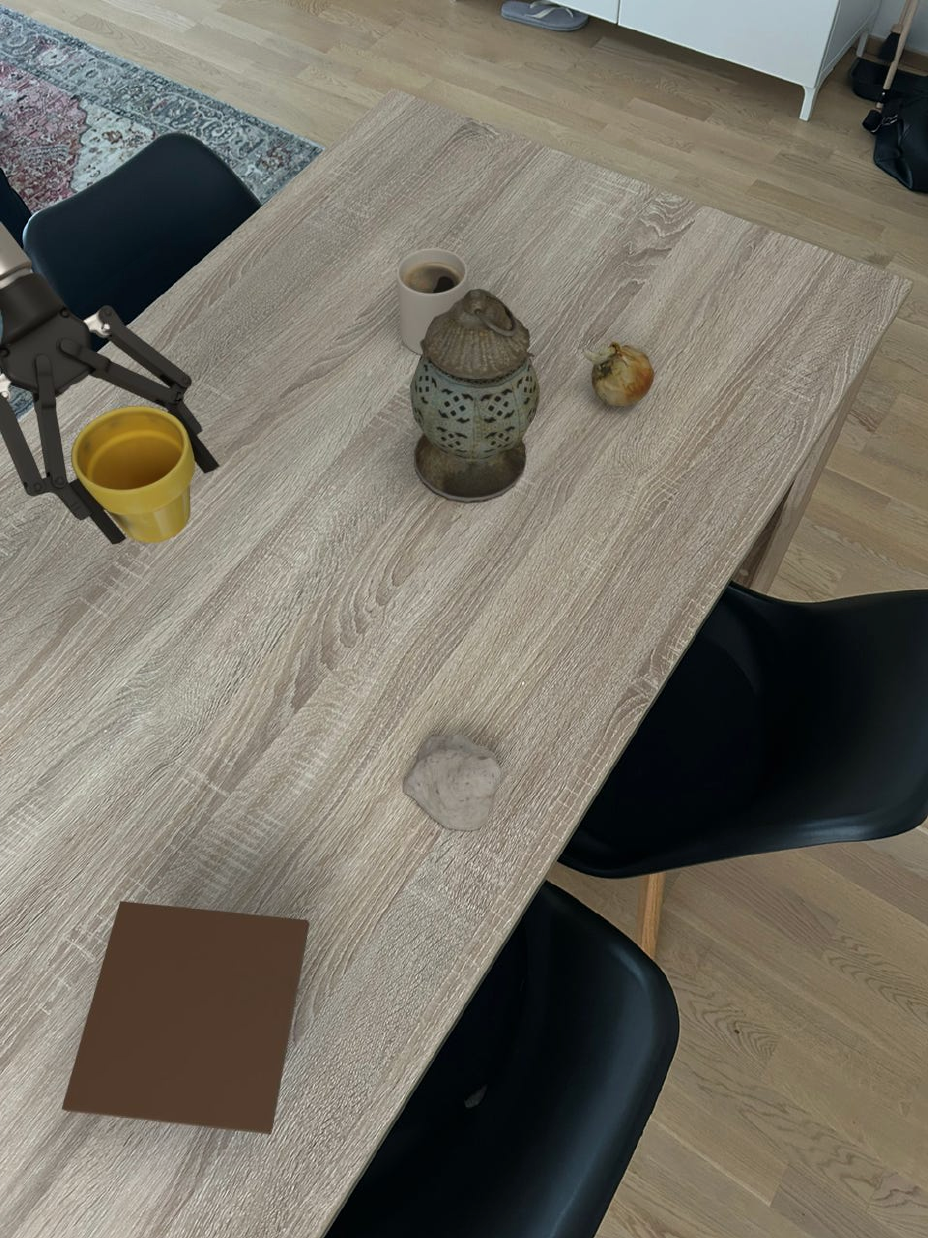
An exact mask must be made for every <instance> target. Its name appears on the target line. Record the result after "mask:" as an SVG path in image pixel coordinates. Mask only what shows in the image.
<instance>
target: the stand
mask: <svg viewBox="0 0 928 1238" xmlns="http://www.w3.org/2000/svg"><path fill="white" fill-rule="evenodd" d="M114 917H115V918H114V921H113V925H112V929H111V932H110V935H109V939H108V942H107V945H106V950H105V952H104V957H103V960H102V963H101V967H100V972H99V974H98V978H97V980H96V981H97V982H96V985H95V989H94V993H93V996H92V1000H91V1003H90V1006H89V1010H88V1014H87V1017H86V1021H85V1025H84V1028H83V1032H82V1035H81V1039H80V1042H79V1046H78V1050H77V1053H76V1056H75V1060H74V1063H73V1066H72V1071H71V1074H70V1078H69V1082H68V1085H67V1088H66V1092H65V1096H64V1099H63V1103H62V1106H61V1110H62V1111H65V1112H70V1113H79V1114H87V1115H96V1116H97V1115H98V1116H105V1117H113V1118H121V1119H131V1120H141V1121H147V1122H157V1123H165V1124H175V1125H183V1126H191V1127H192V1126H193V1127H201V1128H208V1129H209V1128H210V1129H217V1130H218V1129H219V1130H227V1131H236V1132H244V1133H252V1134H261V1135H270V1136H271V1135H272V1134H273V1129H274V1124H275V1123H274V1122H275V1118H276V1112H277V1107H278V1101H279V1095H280V1089H281V1084H282V1079H283V1074H284V1073H283V1072H284V1068H285V1062H286V1056H287V1051H288V1046H289V1040H290V1034H291V1029H292V1025H293V1017H294V1012H295V1007H296V1001H297V995H298V991H299V990H298V989H299V986H300V978H301V974H302V970H303V969H302V968H303V963H304V957H305V951H306V947H307V940H308V935H309V930H310V922H309V920H308V919H301V918H293V917H292V918H291V917H289V918H288V917H281V916H271V915H263V914H251V913H242V912H232V911H231V912H230V911H221V910H211V909H202V908H192V907H183V906H182V907H180V906H173V905H163V904H152V903H142V902H133V901H124V900H123V901H121V900H120V901H119V903H118V907H117V910H116V914H115V916H114Z"/></svg>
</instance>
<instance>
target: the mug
mask: <svg viewBox="0 0 928 1238" xmlns="http://www.w3.org/2000/svg"><path fill="white" fill-rule="evenodd" d="M468 268H469V267H468V265H467V263H466V261H465V260H464V259H463V257H461V256H460V255H459V254H458V253H456V252H454V251H451V250H448V249H445V248H441V247H426V248H422V249H417V250H414V251H412V252H410V253H408V254H407V255H405V256H404V257H403V258H402V259H401V260H400V261H399V263H398V264H397V267H396V270H395V278H396V289H397V290H396V291H397V302H398V316H399V327H400V337H401V340H402V343H404V345H405V346H406V347H407V348H408V349H409V350H410V351H412V352H414V353H415V354H418V355H420V356H421V355H422V354H423V351H422V348H421V346H420V341H421V340H423V339H424V338H425V335H426V332H427V329H428V327H429V325H430V324H431V322H432V320H433V319H434V317H436V316H438V315H440V314H443V313H445V312H447V311H449V309H450V308H451V307H452V306H453V305H454V303H455V302H457V301H458V300H460V299H461V298H463V297H464V296H465V295H466V293H467V292H468V291H469V269H468Z"/></svg>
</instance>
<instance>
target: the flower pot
mask: <svg viewBox="0 0 928 1238" xmlns="http://www.w3.org/2000/svg"><path fill="white" fill-rule="evenodd" d="M70 462H71V466H72V469H73V472H74V475H75V477H76V479H77V478H78V479H79V480H80V481H81V483H82V484H83V485H84V486H85V488H86V489H87V490H88V491H89V492H90V494H91V495H92V496H93V497H94V499H95V500H96V501H97V502H98V503H99V505H100V506H101V507H102V508H103V510H104V511H105V512H106V513H107V514H108V515H109V517H110V518H111V519H112V520H113V521H114V522H115V524H116V525H117V526H119V528H121V529H120V530H122V531H123V533H124V534H125V535H127V536H128V537H129V538H130V539H132V540H135V541H137V542H140V543H144V544H155V543H156V544H157V543H161V542H164V541H167V540H170V539H172V538H174V537H175V536H177V535H178V534H180V533H181V532H182V531H183V530H184V529H185V527H186V526H187V524H188V523H189V521H190V518H191V513H192V512H191V511H192V509H191V483H192V480H193V478H194V475H195V469H196V462H195V459H194V454H193V450H192V446H191V443H190V440H189V437H188V434H187V431H186V429H185V428H184V426H183V425H182V423H181V422H180V421H179V420H178V419H177V418H176V417H174V416H173V415H171V414H170V413H168V411H166V410H163V409H161V408H157V407H154V406H147V405H130V406H123V407H118V408H115V409H112V410H109V411H107V412H104V413H103V414H101V415H99V416H97V417H95V418H94V419H92V420H91V421H90V422H88V423H87V424H86V425H85V426H84V427H83V428H82V429H81V431H80V432H79V433H78V434H77V436H76V438H75V440H74V441H73V444H72V447H71V453H70Z"/></svg>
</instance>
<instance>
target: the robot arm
mask: <svg viewBox="0 0 928 1238" xmlns="http://www.w3.org/2000/svg"><path fill="white" fill-rule="evenodd" d="M32 265H33V261H32V260H31V259H30V257H29V256H28V255H27V254H26V253H25V251H24V250H23V249H22V248H21V246H20V245H19V243H18V242H17V240H16V239H15V238H14V237H13V235H12V234H11V232H10V231H9V230H8V229H7V227H6V226H5V224H3V222H2V221H0V436H1V437H2V439H3V442H4V445H5V446H6V449H7V451H8V454H9V456H10V458H11V461H12V463H13V466H14V468H15V470H16V472H17V475H18V477H19V479H20V482H21V484H22V486H23V489H24V491H25V493H26V494H27V496H29V497H32V498H33V497H37V496H41V495H44V494H49V493H51V494H54V495H56V496H57V497H58V499H59V500H60V502H62V503H63V505H64V506H65V508H66V509H67V510H68V511H69V512H70V513H71V514H72V516H73V517H74V518H75V519H77V520H78V521H80V522H82V521H84V520H86V519H87V518H88V517H89V519H91V521H92V522H93V523H94V524H95V525H96V527H97V528H98V529H99V530H100V532H101V533H102V534H103V535H104V536H105V538H106V539H107V540H108V541H109V543H110V544H111V545H112V546H113V545H118V544H121V543H123V542H124V541H125V540H126V539H127V536H126V534H125V533H124V532H122V531H121V530H122V529H120V527H118V525H117V523H116V522H115V521H114V520H113V518H112V517H111V516H110V515H109V514H108V512H107V511H106V510H104V509H103V508H102V507H101V506H100V505H99V503H98V502H97V501H96V500H95V499H94V497H93V496H92V495H91V494H90V492H89V491H88V490H87V489H86V488H85V486H84V485H83V484H82V483H81V481H80V480H79V479H78V478H77V477H76V478H75V479H73V480H71V481H70V482H69V481H68V475H67V469H66V462H65V458H64V450H63V443H62V437H61V431H60V425H59V418H58V413H57V398H58V397H60V396H61V395H63V394H64V393H66V392H67V391H68V390H69V389H70V387H71V386H74V385H76V384H79V383H80V382H82V381H83V380H85V379H86V378H87V377H89V376H90V377H92V378H95V379H99V380H102V381H105V382H107V383H109V384H111V385H113V386H115V387H118V388H119V389H122V390H125V391H126V392H129V393H131V394H133V395H135V396H138V397H140V398H142V399H144V400H146V401H148V402H150V403H153V404H155V405H158V406H160V407H162V408H164V409H166V410H167V412H168V413H170V414H171V415H173V416H174V417H176V418H177V419H178V420H179V421H180V422H181V423H182V425H183V426H184V428H185V429H186V431H187V434H188V437H189V440H190V443H191V446H192V450H193V454H194V459H195V464H196V465H197V466H198V467H199V468H200V470H201V471H202V473H203V474H208V473H211V472H213V471H215V470H217V469H218V468H219V467H220V466H221V465H220V464H219V462H218V461H217V460H216V458H215V457H214V456H213V454H212V453H211V452H210V451H209V449H208V448H207V447H206V445H205V444H204V443H203V441H202V440H201V438H200V437H199V436H198V435H199V434H200V433H202V432H204V431H203V430H204V429H203V427H202V425H201V423H200V422H199V421H198V419H197V418H196V416H195V415H194V414H193V412H192V411H191V410H190V408H189V407H188V406H187V404H186V403H185V400H184V399H185V394H186V393H187V391H188V389H189V388H190V387H191V386H192V383H193V379H192V377H191V376H190V375H189V374H187V373H186V372H185V371H184V370H182V369H181V368H180V367H178V366H177V365H176V364H175V363H173V362H172V361H171V360H169V358H167V357H166V356H165V355H163V354H161V352H159V351H158V350H157V349H155V347H153V346H151V344H149V343H148V342H146V341H145V340H144V339H143V338H141V337H140V336H139V335H138V334H136V333H135V332H134V331H133V330H131V329H130V328H129V327H127V326H126V325H125V324H124V322H123V321H122V319H121V318H120V317H119V315H118V314H117V312H116V311H115V309H114V308H113V307H112V306H111V305H107V304H105V305H103V306H102V307H101V308H100V309H98V311H97V312H96V313H94V314H92V315H91V316H89V317H87V318H85V319H84V320H83V319H82V318H79V317H77V316H76V315H74V314H73V313H72V312H71V310H69V308H68V307H67V305H66V303H64V301H63V300H62V299H61V298H60V296H59V295H58V293H57V292H56V291H55V290H54V289H53V287H52V286H51V284H50V283H49V282H48V281H47V280H46V279H47V278H45V276H44V275H43V274H42V273H39V272H37V271H33V272H31V268H32ZM91 333H94V334H96V335H97V336H98V337H99V338H103V339H104V338H105V339H106V338H107V339H108V340H109V342H111V344H113V345H114V346H115V347H116V348H118V349H119V350H120V351H121V352H123V353H124V354H125V355H127V356H128V357H129V358H131V359H132V360H133V361H135V362H136V364H139V365H140V366H141V367H143V369H145V370H146V371H148V372H149V373H150V374H152V375H153V376H154V377H155V378H157V379H158V380H159V381H161V382H162V383H163V384H165V385H166V386H165V385H163V384H162V383H159V382H157V381H155V380H154V379H151V378H148V377H146V376H144V375H142V374H139V373H138V372H136V371H134V370H131V369H129V368H127V367H125V366H122V365H121V364H119V363H117V362H114V361H112V360H111V359H110V358H109V357H108V356H105V355H103V354H101V353H99V352H97V351H95V350H92V342H91V339H92V338H91ZM10 386H12V387H16V388H18V389H21V390H23V391H24V390H25V391H26V392H30V393H31V397H32V403H33V410H34V412H35V416H36V422H37V427H38V434H39V441H40V447H41V455H42V459H43V460H42V461H43V465H44V472H45V477H43V478H42V475H41V473H40V470H39V467H38V465H37V463H36V461H35V458H34V456H33V453H32V451H31V448H30V446H29V443H28V441H27V439H26V437H25V434H24V433H23V430H22V427H21V425H20V422H19V420H18V418H17V416H16V414H15V411H14V409H13V407H12V405H11V404H10V401H11V400H12V394H11V391H10V390H9V389H10V388H9V387H10Z"/></svg>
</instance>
